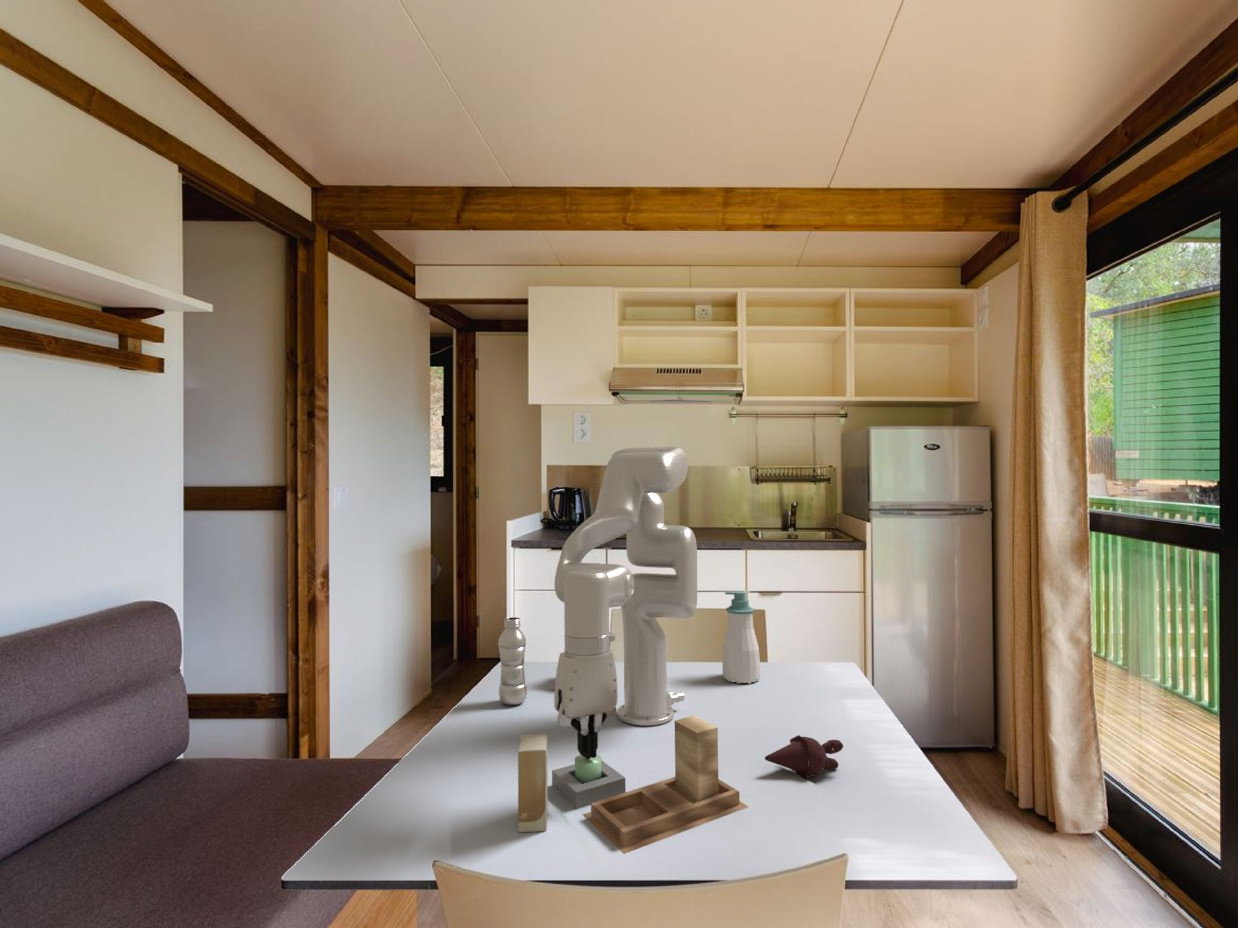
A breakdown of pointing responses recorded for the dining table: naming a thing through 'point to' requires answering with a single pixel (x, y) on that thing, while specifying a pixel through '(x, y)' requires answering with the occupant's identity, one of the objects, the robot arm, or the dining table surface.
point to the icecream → (806, 756)
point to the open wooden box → (657, 813)
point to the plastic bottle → (512, 663)
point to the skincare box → (532, 783)
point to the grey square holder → (587, 785)
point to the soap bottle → (740, 642)
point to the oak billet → (696, 759)
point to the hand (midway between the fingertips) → (587, 755)
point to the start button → (587, 769)
